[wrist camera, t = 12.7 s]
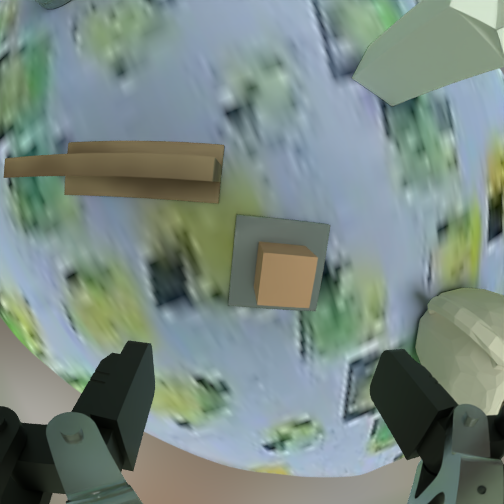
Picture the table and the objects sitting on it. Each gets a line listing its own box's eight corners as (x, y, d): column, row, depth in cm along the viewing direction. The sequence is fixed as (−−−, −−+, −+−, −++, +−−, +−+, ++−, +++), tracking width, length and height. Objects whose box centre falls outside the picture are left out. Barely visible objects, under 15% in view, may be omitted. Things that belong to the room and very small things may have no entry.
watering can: (445, 393, 40) (499, 456, 22) (366, 325, 35) (446, 421, 17) (498, 327, 38) (564, 375, 20) (439, 233, 33) (551, 274, 15)
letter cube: (258, 241, 31) (263, 252, 26) (305, 245, 31) (318, 257, 27) (253, 288, 32) (256, 306, 27) (298, 291, 33) (308, 310, 28)
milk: (406, 73, 28) (536, 16, 7) (391, 107, 29) (538, 60, 8) (367, 45, 27) (481, -44, 6) (349, 78, 28) (478, -12, 7)
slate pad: (236, 214, 31) (236, 214, 30) (328, 224, 32) (330, 225, 31) (228, 302, 33) (228, 305, 32) (313, 308, 34) (315, 311, 33)
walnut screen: (72, 143, 28) (8, 132, 16) (224, 146, 29) (218, 124, 18) (68, 194, 29) (2, 204, 18) (218, 202, 31) (209, 215, 19)
